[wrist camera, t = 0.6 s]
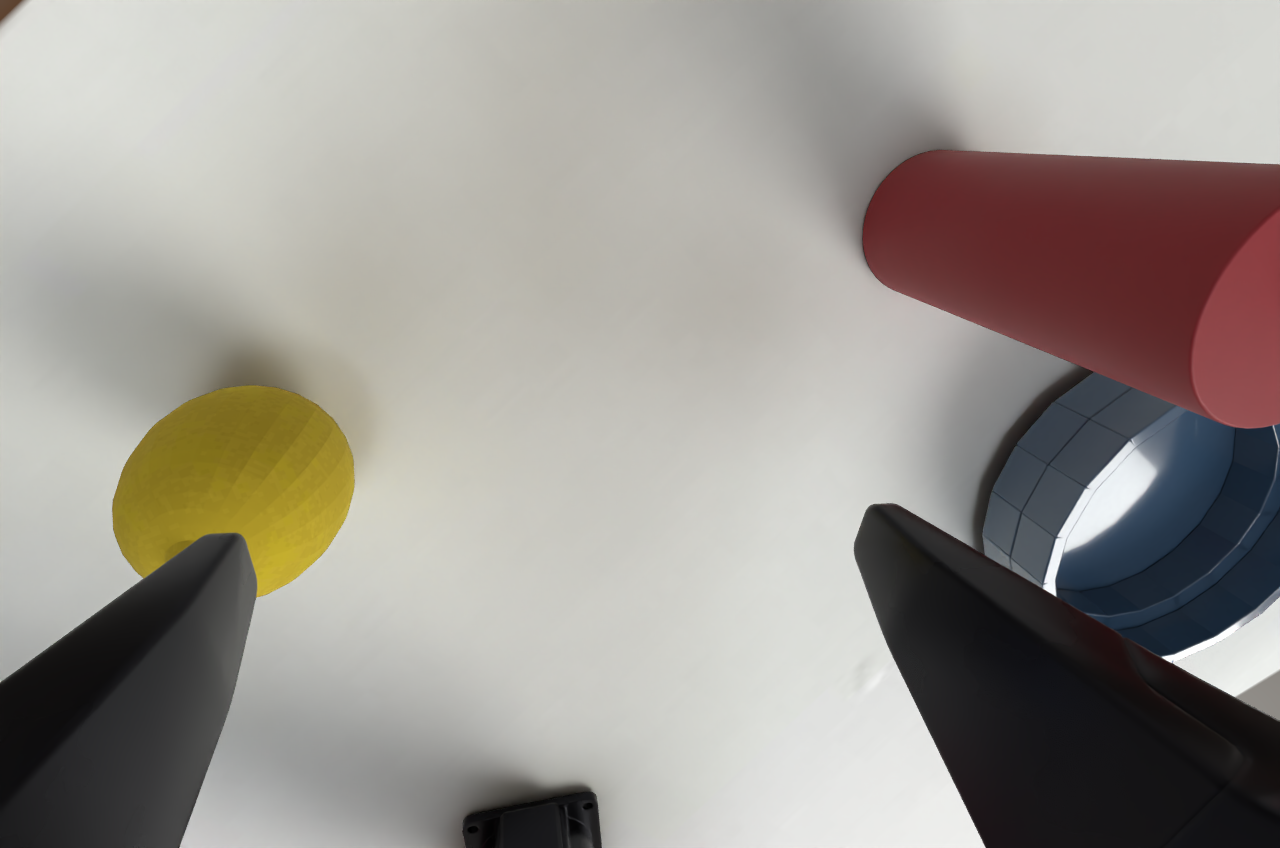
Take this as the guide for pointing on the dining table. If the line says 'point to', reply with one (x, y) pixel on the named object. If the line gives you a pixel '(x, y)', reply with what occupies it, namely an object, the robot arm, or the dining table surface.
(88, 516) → the dining table surface
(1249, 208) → the candle
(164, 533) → the lemon
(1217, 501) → the bowl
